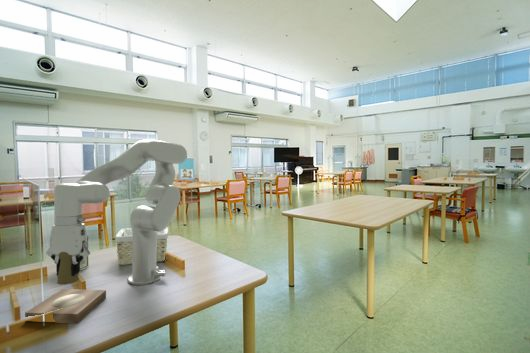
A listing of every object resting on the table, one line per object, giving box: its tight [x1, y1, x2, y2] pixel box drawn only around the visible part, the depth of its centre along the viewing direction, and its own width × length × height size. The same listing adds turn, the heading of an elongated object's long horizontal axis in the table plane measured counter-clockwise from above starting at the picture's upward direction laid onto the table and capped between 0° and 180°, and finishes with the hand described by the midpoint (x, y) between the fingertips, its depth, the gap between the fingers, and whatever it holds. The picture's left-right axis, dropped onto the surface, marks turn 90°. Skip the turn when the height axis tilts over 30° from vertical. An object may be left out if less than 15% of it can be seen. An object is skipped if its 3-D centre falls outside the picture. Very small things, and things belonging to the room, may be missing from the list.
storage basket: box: [114, 226, 170, 266], centre depth 143 cm, size 24×16×15 cm
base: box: [24, 288, 107, 324], centre depth 95 cm, size 16×16×3 cm
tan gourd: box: [56, 252, 80, 285], centre depth 94 cm, size 6×6×11 cm
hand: (68, 273), depth 94 cm, fingers closed on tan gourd, 4 cm apart
